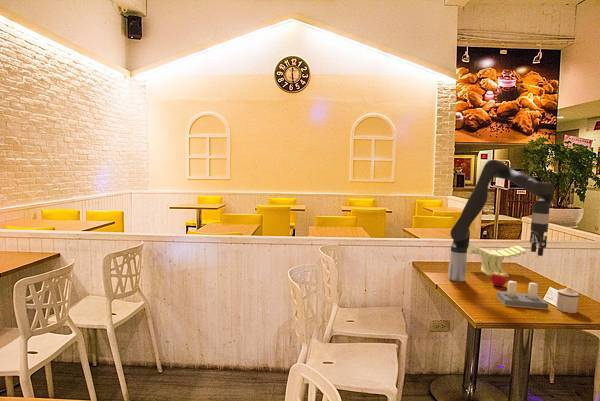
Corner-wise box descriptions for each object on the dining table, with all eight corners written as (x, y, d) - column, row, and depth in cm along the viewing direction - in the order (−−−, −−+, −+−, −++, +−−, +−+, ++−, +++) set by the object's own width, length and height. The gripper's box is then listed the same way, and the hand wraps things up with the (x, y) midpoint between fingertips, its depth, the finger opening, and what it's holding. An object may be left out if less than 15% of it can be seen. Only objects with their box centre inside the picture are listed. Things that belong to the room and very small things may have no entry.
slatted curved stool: (512, 270, 277) (515, 244, 275) (523, 277, 261) (526, 249, 259) (466, 267, 280) (468, 241, 278) (474, 274, 264) (476, 247, 262)
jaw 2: (528, 303, 211) (530, 284, 210) (525, 300, 216) (527, 281, 215) (538, 304, 211) (540, 285, 210) (534, 301, 215) (536, 282, 214)
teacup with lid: (581, 314, 201) (584, 290, 200) (562, 313, 201) (564, 289, 200) (567, 305, 213) (569, 283, 212) (548, 304, 213) (551, 282, 212)
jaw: (509, 302, 212) (510, 283, 211) (504, 299, 217) (505, 280, 215) (517, 302, 213) (519, 283, 211) (512, 298, 217) (514, 280, 216)
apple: (508, 286, 242) (509, 269, 241) (503, 289, 236) (504, 271, 235) (493, 282, 248) (494, 266, 247) (488, 285, 242) (489, 268, 241)
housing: (504, 305, 209) (505, 299, 208) (496, 296, 223) (496, 291, 222) (547, 309, 206) (548, 303, 205) (536, 300, 219) (537, 294, 219)
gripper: (526, 219, 216) (523, 250, 218) (537, 223, 202) (534, 256, 204) (542, 220, 215) (538, 251, 217) (554, 224, 201) (550, 257, 203)
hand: (536, 253), depth 210 cm, fingers open, 8 cm apart
